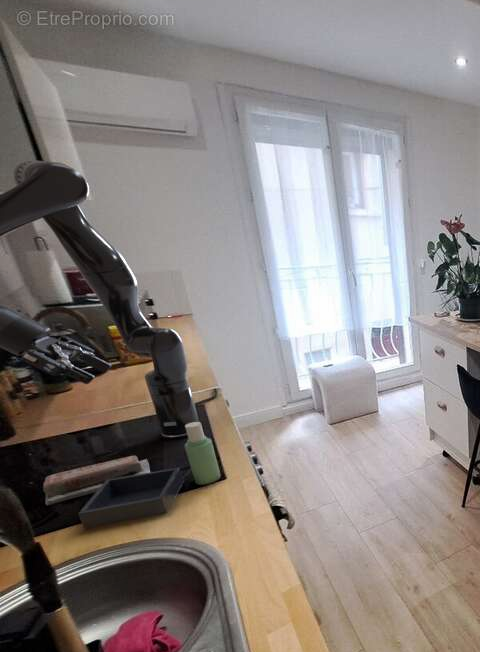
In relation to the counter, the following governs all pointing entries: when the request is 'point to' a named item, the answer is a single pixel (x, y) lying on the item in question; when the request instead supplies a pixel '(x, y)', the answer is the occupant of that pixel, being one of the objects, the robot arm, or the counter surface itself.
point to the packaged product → (90, 478)
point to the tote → (132, 498)
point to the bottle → (201, 455)
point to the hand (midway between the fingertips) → (100, 374)
